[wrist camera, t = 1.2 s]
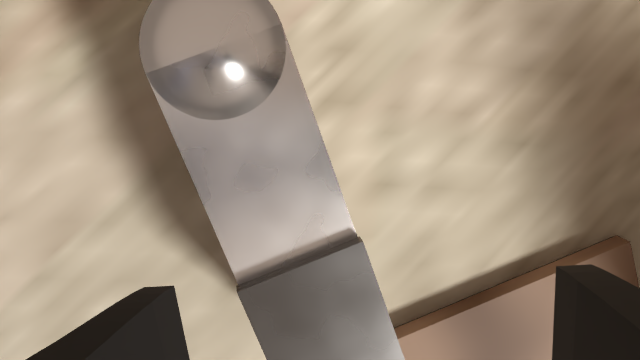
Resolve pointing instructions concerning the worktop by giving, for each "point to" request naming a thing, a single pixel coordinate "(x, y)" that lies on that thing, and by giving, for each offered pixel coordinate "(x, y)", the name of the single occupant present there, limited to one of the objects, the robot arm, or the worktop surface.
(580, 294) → the robot arm
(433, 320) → the walnut board
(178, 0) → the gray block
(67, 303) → the worktop surface
